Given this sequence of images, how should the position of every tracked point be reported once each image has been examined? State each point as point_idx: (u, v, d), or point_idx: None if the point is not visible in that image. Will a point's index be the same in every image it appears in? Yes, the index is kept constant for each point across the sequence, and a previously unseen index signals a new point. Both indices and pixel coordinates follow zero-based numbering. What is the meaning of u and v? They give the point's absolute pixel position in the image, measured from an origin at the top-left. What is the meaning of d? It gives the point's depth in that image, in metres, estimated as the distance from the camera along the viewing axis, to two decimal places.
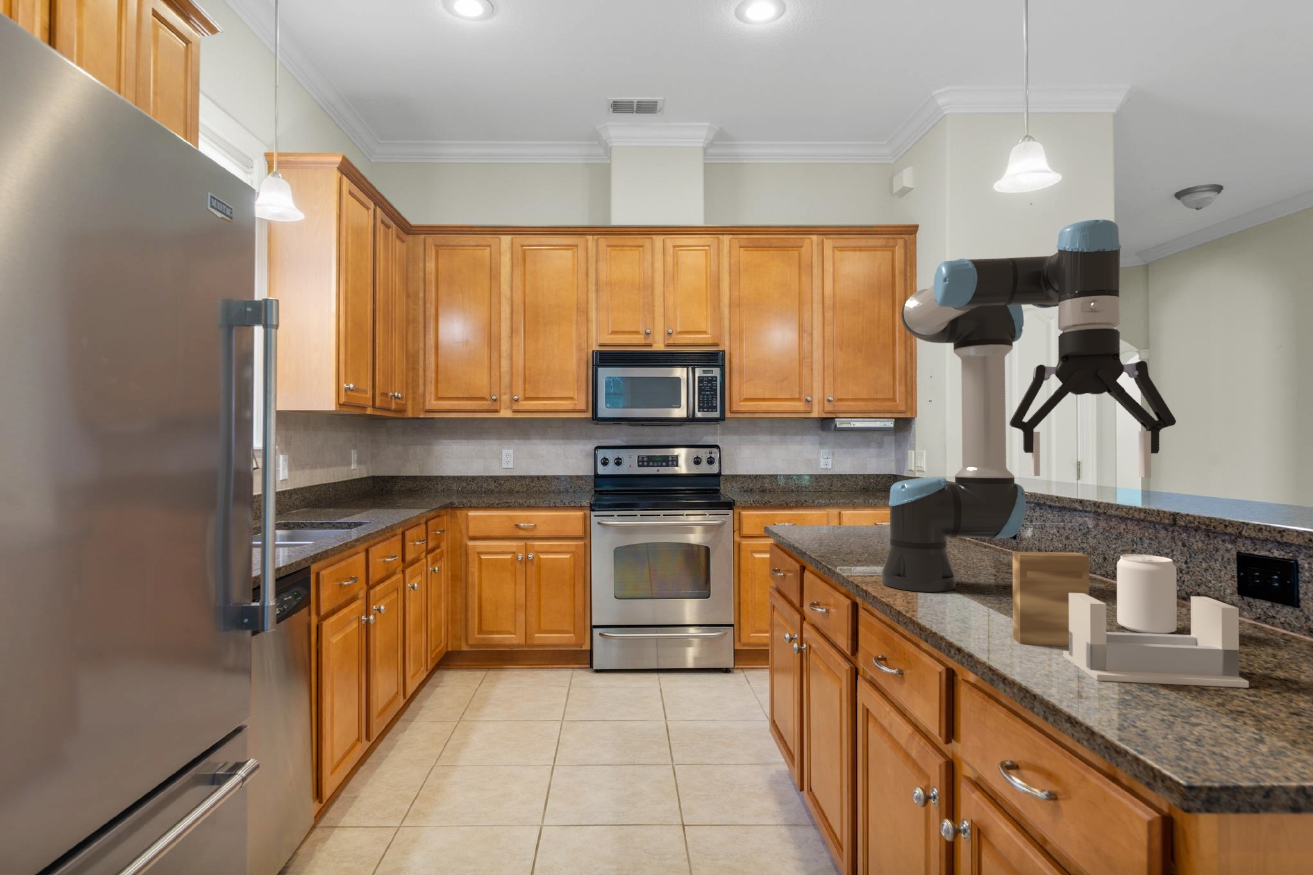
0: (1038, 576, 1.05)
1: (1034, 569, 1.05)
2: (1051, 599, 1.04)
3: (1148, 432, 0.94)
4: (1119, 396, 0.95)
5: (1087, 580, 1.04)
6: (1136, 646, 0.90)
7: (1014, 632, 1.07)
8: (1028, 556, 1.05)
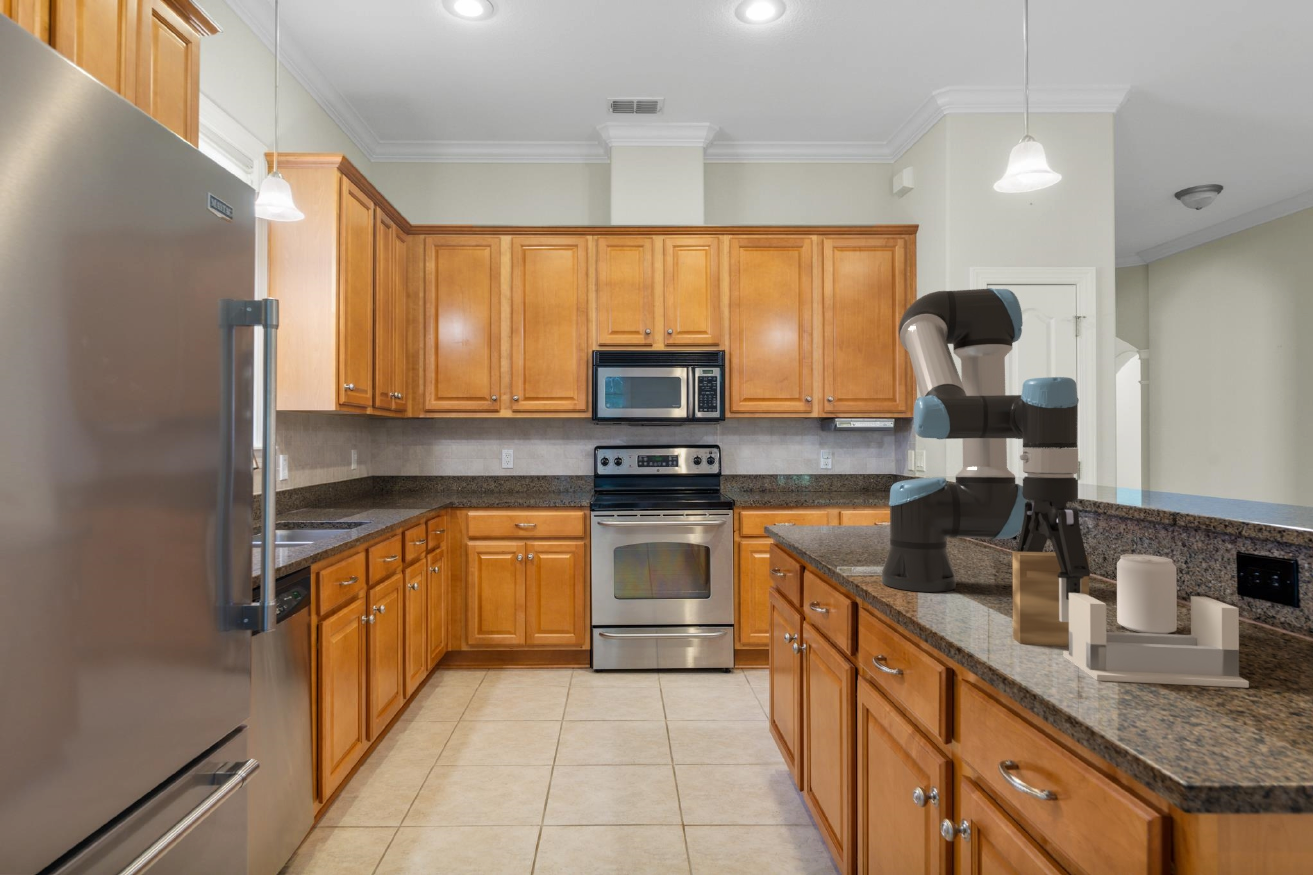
0: (1038, 576, 1.05)
1: (1034, 569, 1.05)
2: (1051, 599, 1.04)
3: (1060, 578, 0.99)
4: (1051, 540, 1.02)
5: (1087, 580, 1.04)
6: (1136, 646, 0.90)
7: (1014, 632, 1.07)
8: (1028, 556, 1.05)
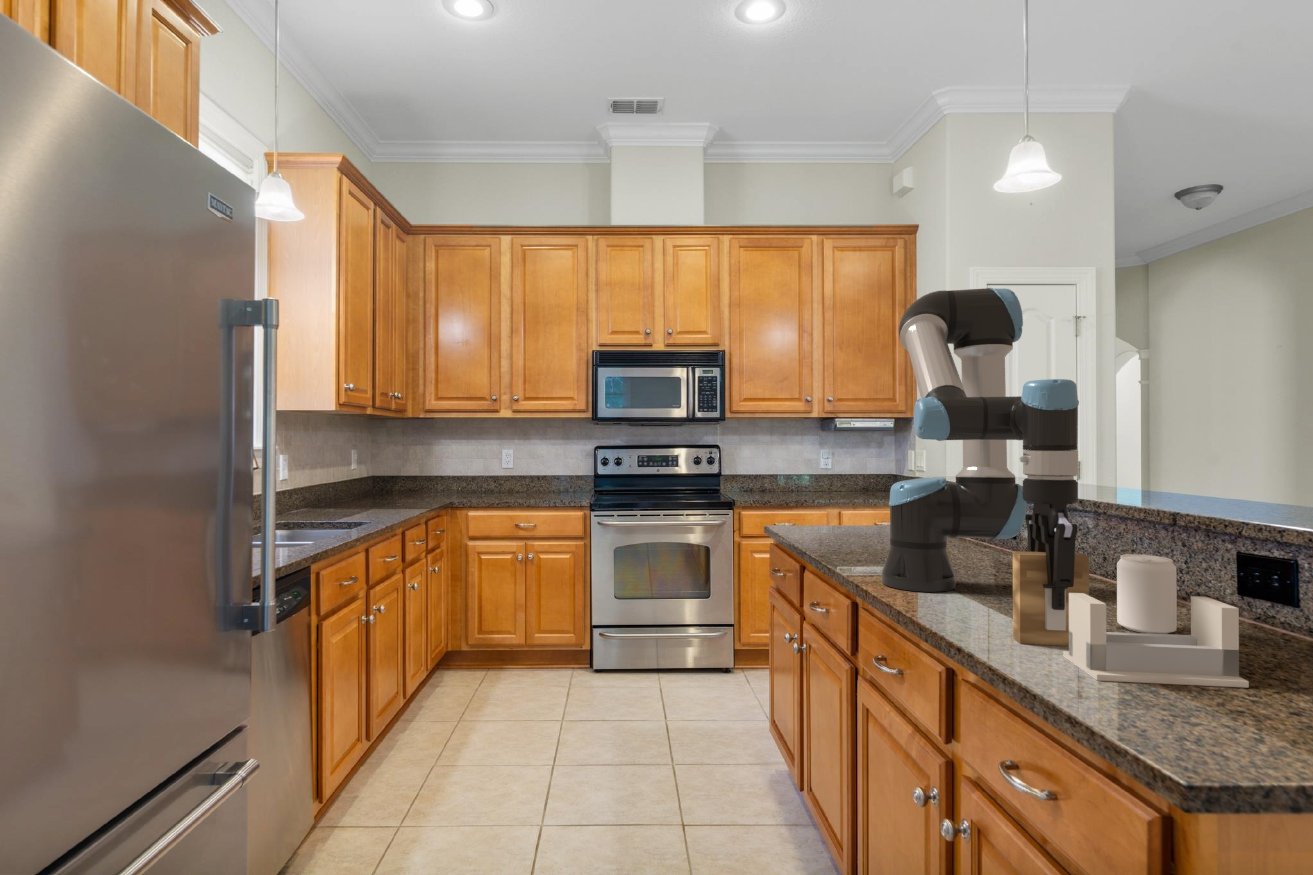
0: (1038, 576, 1.05)
1: (1034, 569, 1.05)
2: None
3: (1046, 588, 1.04)
4: (1045, 545, 1.05)
5: (1087, 580, 1.04)
6: (1136, 646, 0.90)
7: (1014, 631, 1.07)
8: (1028, 556, 1.05)
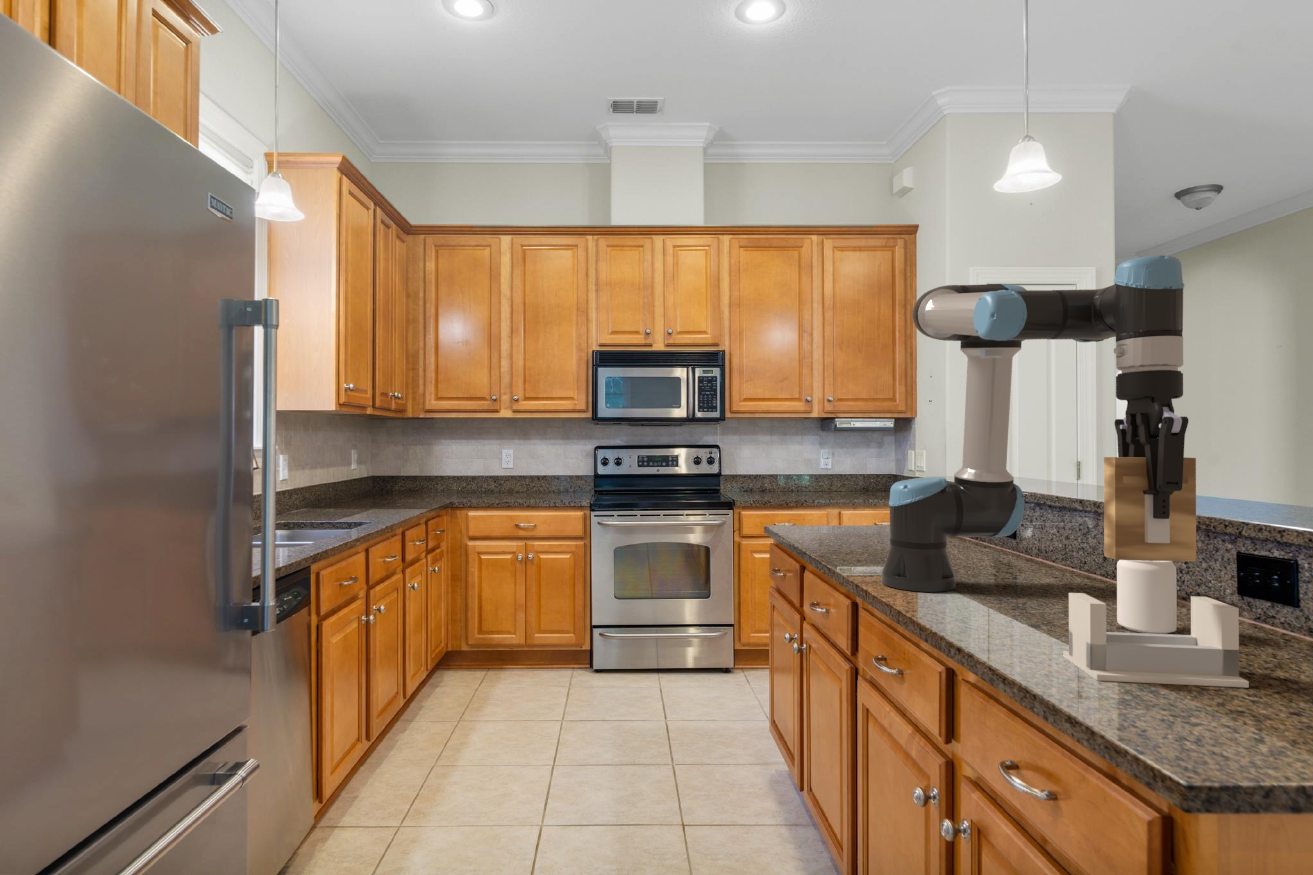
0: (1136, 482, 0.92)
1: (1132, 474, 0.92)
2: None
3: (1146, 495, 0.91)
4: (1145, 446, 0.92)
5: (1194, 485, 0.91)
6: (1136, 646, 0.90)
7: (1107, 548, 0.94)
8: (1125, 459, 0.92)
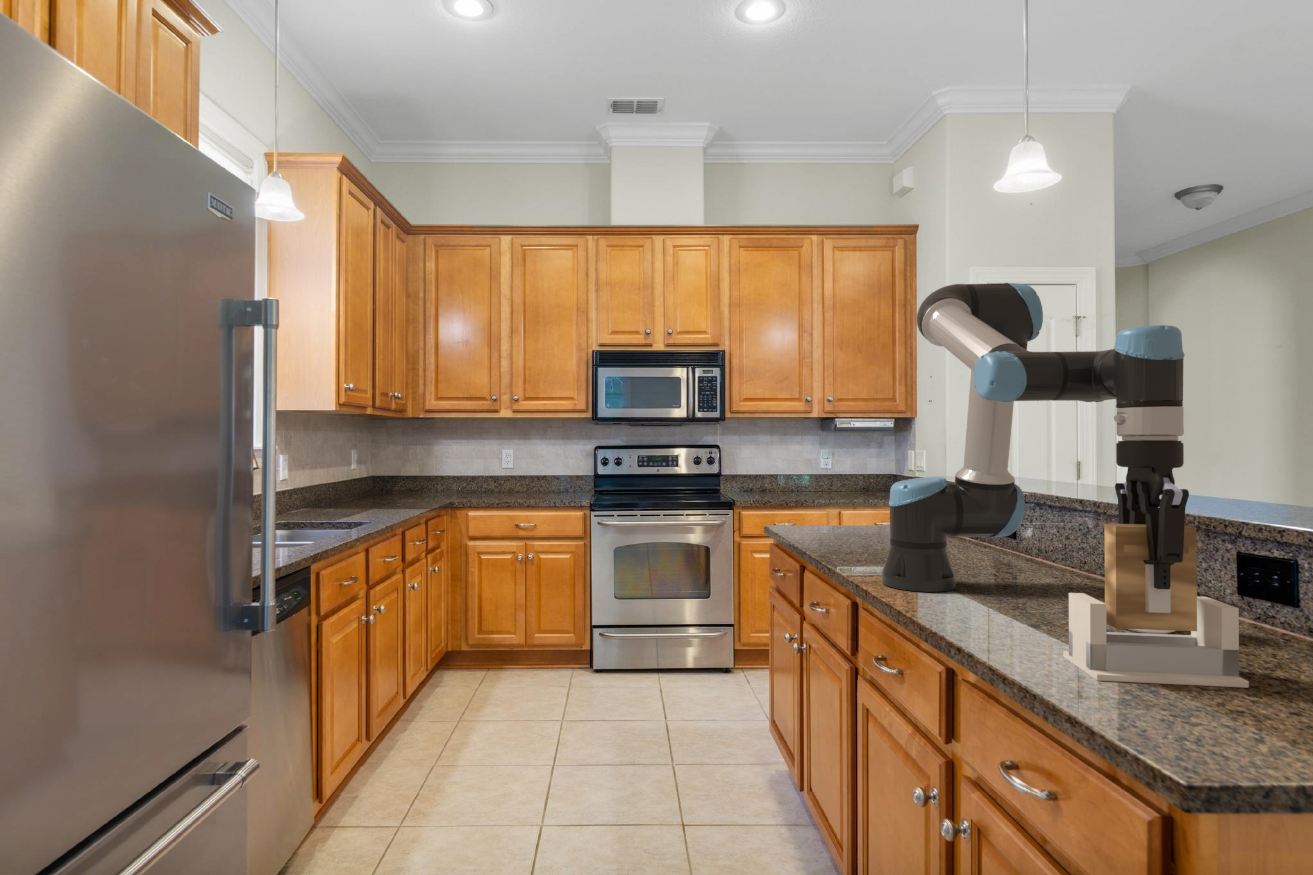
0: (1137, 551, 0.91)
1: (1132, 543, 0.92)
2: None
3: (1147, 565, 0.91)
4: (1146, 515, 0.91)
5: (1194, 555, 0.90)
6: (1136, 646, 0.90)
7: (1108, 615, 0.94)
8: (1125, 528, 0.92)
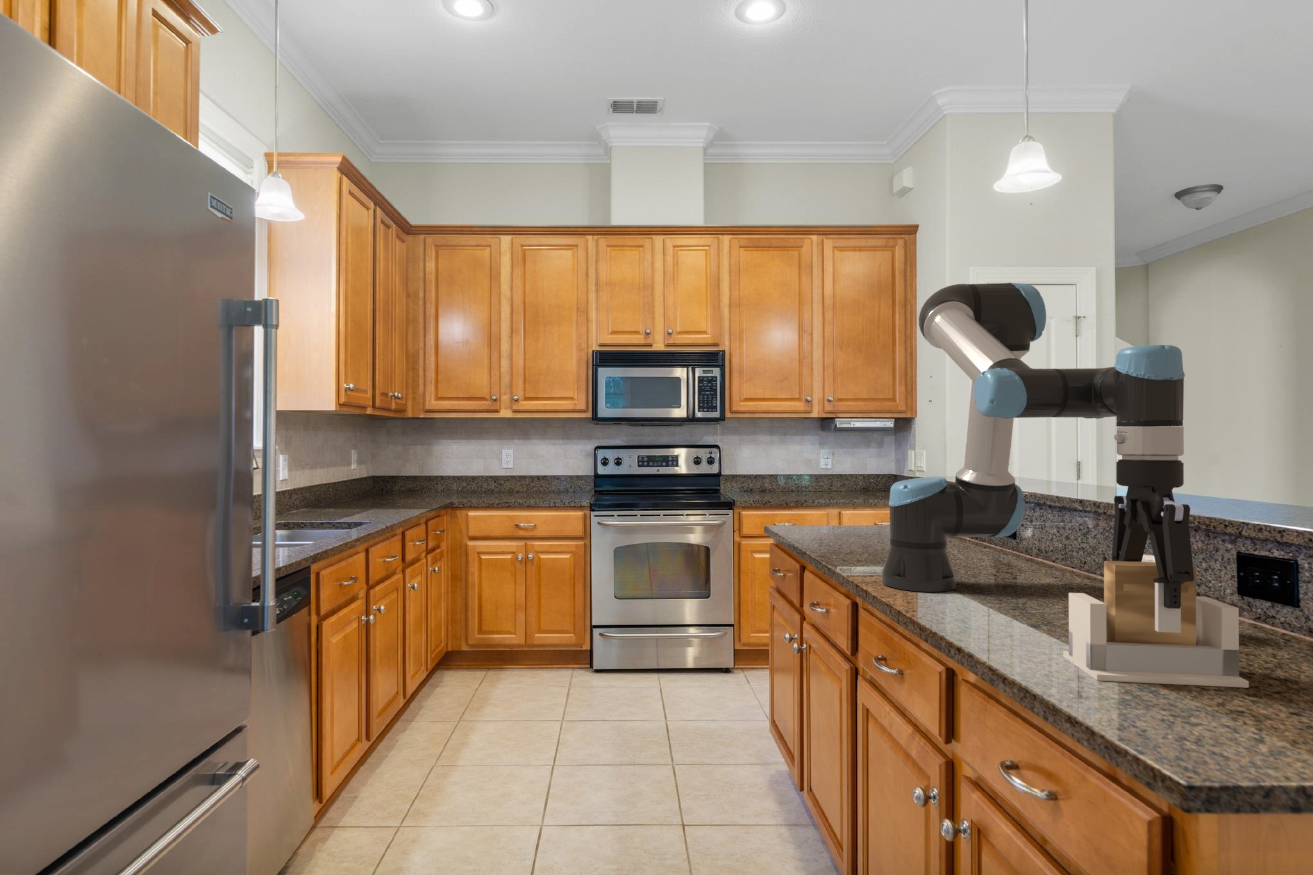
0: (1136, 589, 0.92)
1: (1132, 581, 0.92)
2: (1152, 616, 0.91)
3: (1156, 583, 0.89)
4: (1149, 534, 0.91)
5: (1194, 594, 0.91)
6: (1136, 646, 0.90)
7: None
8: (1125, 567, 0.92)
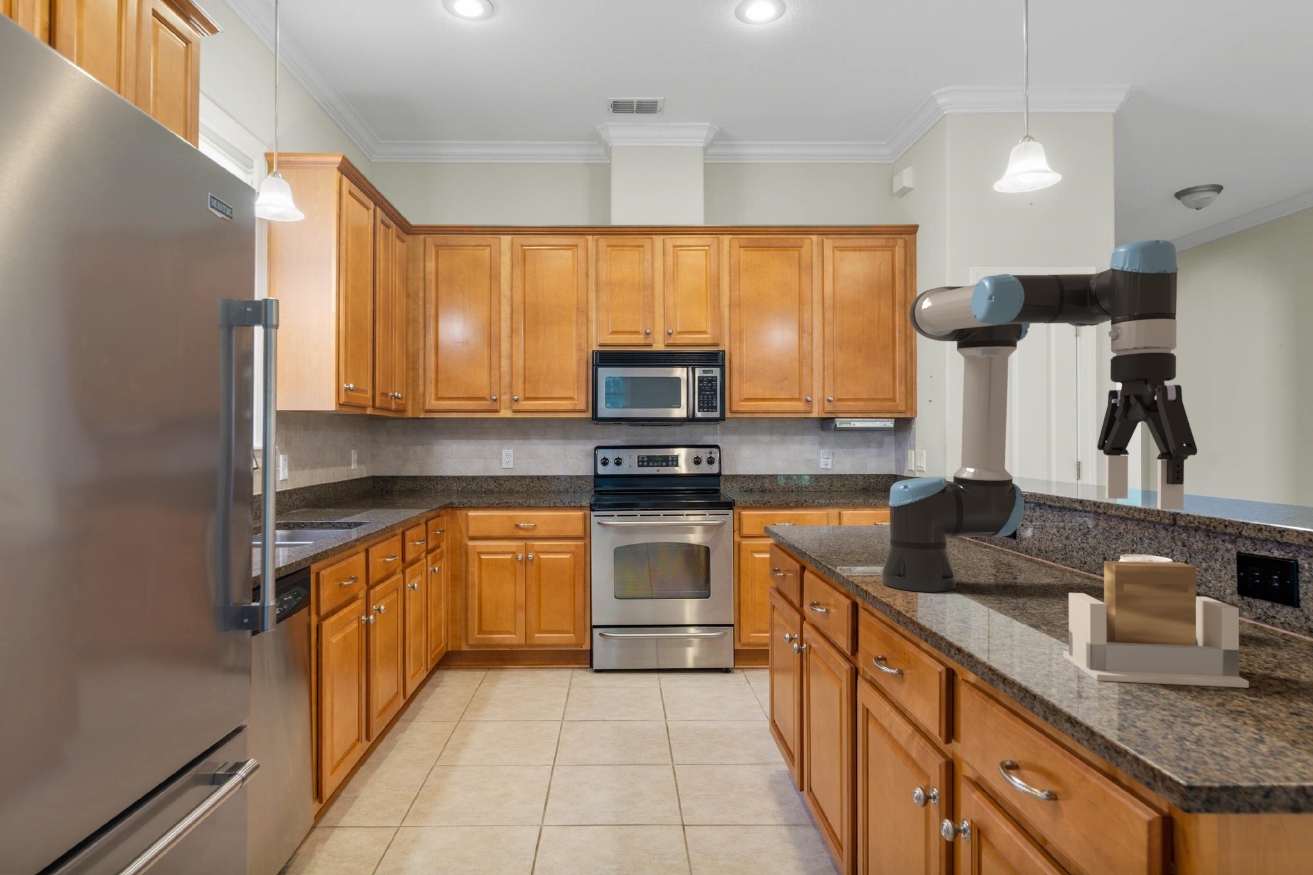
0: (1137, 589, 0.92)
1: (1132, 581, 0.92)
2: (1152, 616, 0.91)
3: (1159, 461, 0.88)
4: (1146, 422, 0.92)
5: (1194, 594, 0.91)
6: (1136, 646, 0.90)
7: None
8: (1125, 567, 0.92)
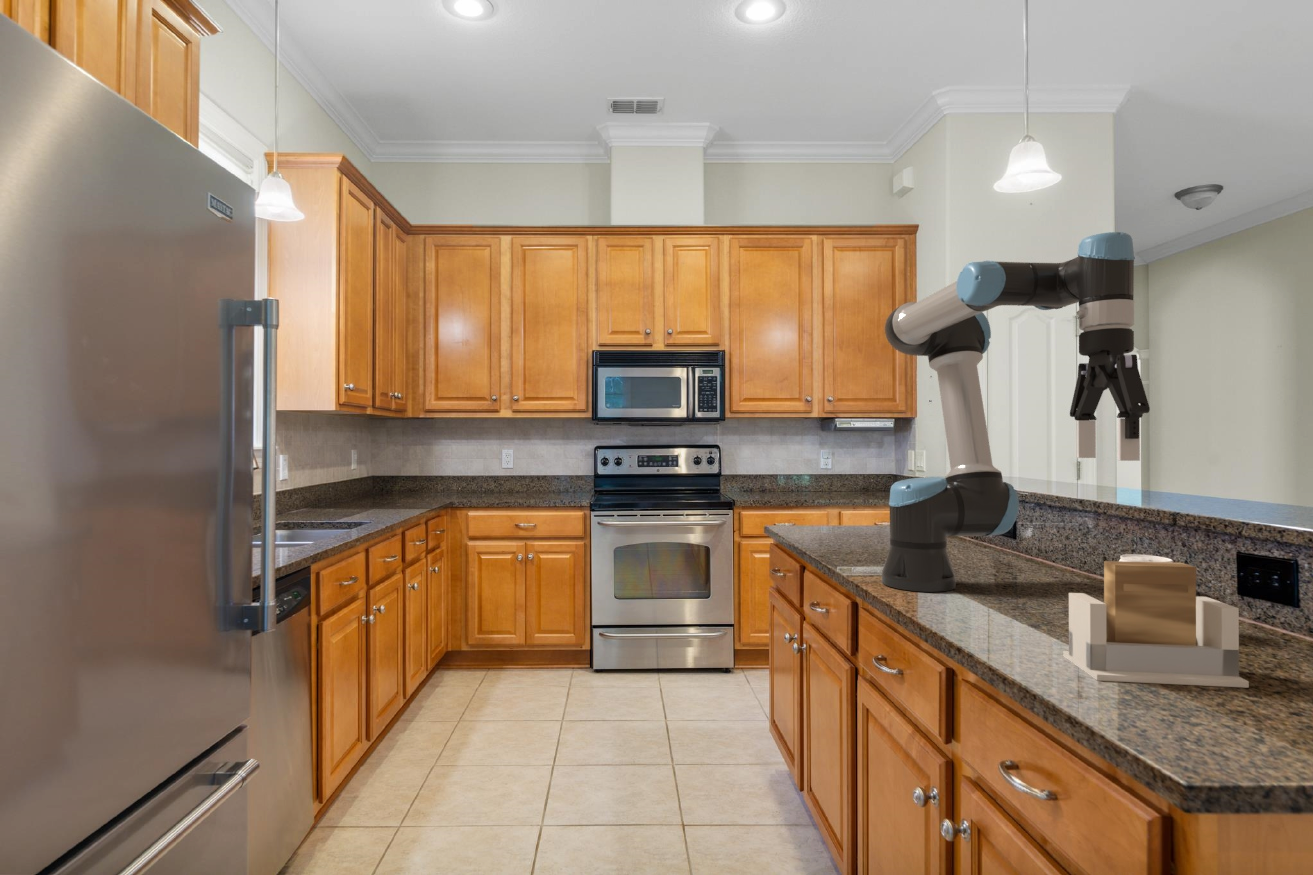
0: (1137, 589, 0.92)
1: (1132, 581, 0.92)
2: (1152, 616, 0.91)
3: (1119, 419, 1.03)
4: (1109, 387, 1.07)
5: (1194, 594, 0.91)
6: (1136, 646, 0.90)
7: None
8: (1125, 567, 0.92)
